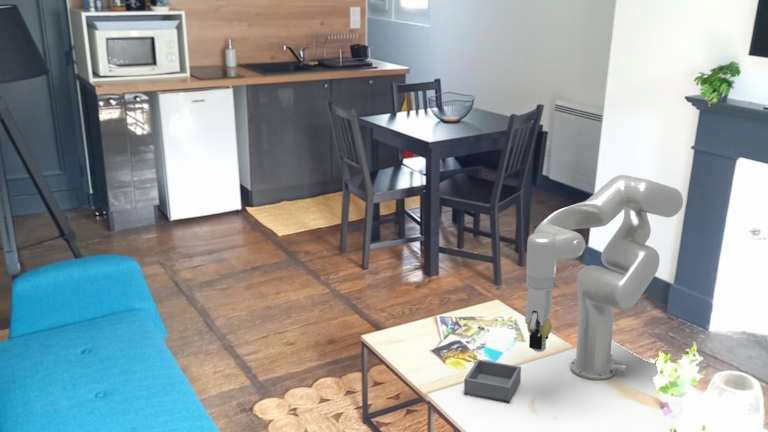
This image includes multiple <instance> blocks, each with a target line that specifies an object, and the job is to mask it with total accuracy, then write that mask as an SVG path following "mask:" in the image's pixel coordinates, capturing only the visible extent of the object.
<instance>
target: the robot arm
mask: <svg viewBox="0 0 768 432" xmlns="http://www.w3.org/2000/svg"><path fill="white" fill-rule="evenodd" d="M683 205H684V198H683V194H682V192H680V190H679V189H678V188H676V187H672V186H669V185H666V184H663V183H659V182H657V181H654V180H650V179H646V178H641V177H637V176H631V175H626V174H621V175H616V176H613V177H612V178H611V179H610V180H608V181H607V183H605V184H603V186H602V187H600V188H599V189H598V190H597V191H596V192H594V193H593V194H592V195H591V196H589V198H588V199H586V200H584V201H582V202H581V201H580V202H578V203H575V204H572V205H569V206H566V207H563V208H560V209H558V210H556V211H554V212H553V213H551V214H550V215H548V216H547V217H546V218H544V220H543V221H541V222H540V223H539V224H538V225H537V226H536V228H535V230H534V232H533V233H532V234H531V235H529V236H528V237H527V242H526V245H527V247H526V277H525V278H526V279H525V281H526V282H525V286H526V287H527V288H528V289H527V293H526V294H527V295H526V305H525V316H524V317H525V318H524V319H525V320H524V322H525V324H526V325H527V324H529V323H530V321H531V324H530V333H529V340H528V341H529V344H528V345H529V349H532V350H533V349H538V350H541V349H542V335H541V330H542V326H543V325H544V324H545V323H546V321H547V319H548V318H549V319H550V316H551V314H552V309H553V306H552V305H553V290H554V289H555V288H556V282H557V281H556V280H557V262H558V261H569V260H573V259H577V258H579V257H580V256H582V254H583V253H584V251H585V249H586V241H585V238H584V237H583V235H582V234H580V233H579V232H577V231H574V230H579V229H594V228H601V227H605V226H607V225H609V223H610V222H612V221H613V220H614V219H615V218H616V217H617V216H619V214H621V213H622V212H623V220H622V222H621V224H620V225H619V227H618V228H617V230H616V232H615V233H614V234H613V236H611V238H610V240H609V241H608V243H607V244H606V245H605V247H604V249H602V251H601V256H600V260H601V262H602V264H603V265H604V266H605V267H603V266H599V265H587V266H584V267H583V268H581V270H579V272H578V275H577V277H576V291H577V297H578V298H577V299H578V319H577V322H578V323H577V336H576V337H577V340H576V354H575V355H576V356H575V357H576V358H575V359H573V360H571V361H570V365H569V367H570V371H571V372H572V373H573V374H575V375H576V376H578V377H580V378H583V379H588V380H595V381H599V380H600V381H601V380H607V379H610V378H612V377H613V376H615V374H616V371H620V372H623V373H625V372H626V371H627V365H626V364H624V363H623V360H615V359H614V358H613V354H612V340H613V339H612V338H613V326H614V313H613V312H614V311H613V308H614V309H617V310H620V311H626V310H629V309H631V308H632V307H633V306H634V305H635V304H636V303H637V302H638V300H639V299H640V298H641V296H642V294H644V292H645V290H646V289H647V287H648V286H649V285H650V283H651V282H652V281H653V279H654V278H655V276H656V274H657V272H658V270H659V267H660V263H661V262H660V260H661V259H660V253H659V252H658V251H657V250H656V249H655V248H654V247H652V246H650V245H648V244H647V241H648V240H649V239H650V236H651V232H652V231H651V229H652V228H651V224H650V221H649V218H648V214H651V215H655V216H659V217H664V218H673V217H674V216H676V215H678V214H679V212H681V210H682V208H683ZM537 322H540V324H536V323H537ZM536 326H539V330H538V329H536ZM545 339H546V340H548V339H549V335H548V336H547V337H546V338H545Z"/></svg>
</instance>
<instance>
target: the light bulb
mask: <svg viewBox="0 0 768 432" xmlns="http://www.w3.org/2000/svg"><path fill="white" fill-rule="evenodd" d="M530 324H531V321H530V323H529V324H526V327H527V331H528V334H530ZM536 324H540V322H537V323H536ZM552 327H553V326H552V322H551V320H550V317H549V318H548V319H547V321H546V323H545V324H544V325H543V326H542V330H541V335H542V349H541V350H538V349H532V351H535V352H537V353H542V352H544V351H545V350H546V349H547V346H546V345H547V339H545V338H546V337H547V336H548V337H549V335H550V334H551V332H552V329H553V328H552ZM536 329H538V330H539V326H536Z"/></svg>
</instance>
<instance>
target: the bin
mask: <svg viewBox="0 0 768 432" xmlns="http://www.w3.org/2000/svg"><path fill="white" fill-rule="evenodd" d="M521 371H522V367H521V366H518V365H513V364H507V363H501V362H497V361H490V360H484V359H477V360H476V361H475V362H474V364H473V366H472V367H471V368H470V369H469V372H468V373H467V374H466V375H465V378H464V381H463V383H464V386H463V389H464V391H463V395H464V394H465V395H464V396H468V395H469V397H475V398H478V397H479V398H478V399H483V398H484V400H489V401H495V402H499V403H505V404H510V403H511V401H512V400H513V398H514V395H515V394H516V391H517V389H518V387H519V386H520V384H521V376H522V372H521Z"/></svg>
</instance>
